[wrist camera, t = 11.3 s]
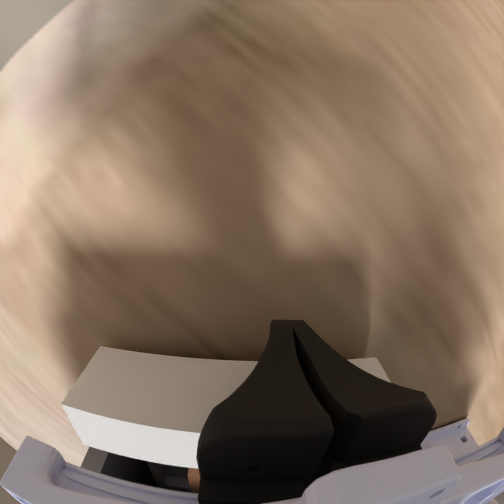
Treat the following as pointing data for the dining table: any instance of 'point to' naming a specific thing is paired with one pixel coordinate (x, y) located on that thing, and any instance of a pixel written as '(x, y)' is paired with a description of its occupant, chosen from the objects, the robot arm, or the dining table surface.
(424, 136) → the dining table surface
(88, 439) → the tray
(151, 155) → the dining table surface
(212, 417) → the robot arm
